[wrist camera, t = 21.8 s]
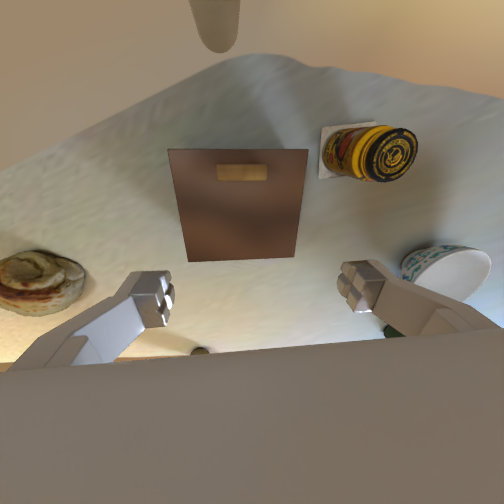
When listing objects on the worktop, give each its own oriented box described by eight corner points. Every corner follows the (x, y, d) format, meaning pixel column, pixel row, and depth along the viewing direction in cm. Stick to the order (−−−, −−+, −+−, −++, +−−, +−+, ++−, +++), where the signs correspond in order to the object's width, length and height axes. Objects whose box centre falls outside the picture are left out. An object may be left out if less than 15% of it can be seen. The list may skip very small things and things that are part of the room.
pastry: (75, 246, 35) (36, 273, 28) (99, 300, 41) (73, 333, 34) (-17, 248, 33) (-80, 277, 26) (23, 303, 40) (-20, 338, 33)
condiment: (320, 127, 29) (370, 122, 19) (376, 121, 30) (455, 112, 19) (317, 179, 33) (358, 197, 23) (367, 172, 33) (429, 188, 23)
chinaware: (451, 269, 47) (489, 291, 40) (388, 297, 49) (413, 322, 42) (450, 218, 39) (495, 234, 33) (376, 254, 42) (404, 275, 35)
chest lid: (169, 148, 22) (156, 151, 18) (306, 148, 23) (321, 151, 20) (189, 259, 29) (183, 277, 26) (292, 254, 31) (301, 271, 27)
